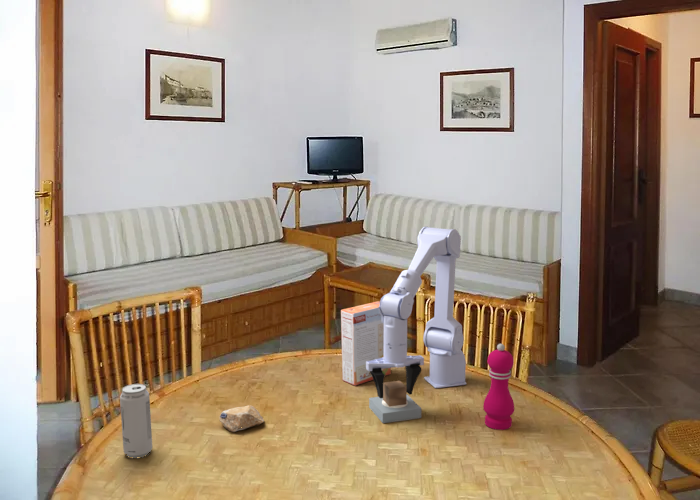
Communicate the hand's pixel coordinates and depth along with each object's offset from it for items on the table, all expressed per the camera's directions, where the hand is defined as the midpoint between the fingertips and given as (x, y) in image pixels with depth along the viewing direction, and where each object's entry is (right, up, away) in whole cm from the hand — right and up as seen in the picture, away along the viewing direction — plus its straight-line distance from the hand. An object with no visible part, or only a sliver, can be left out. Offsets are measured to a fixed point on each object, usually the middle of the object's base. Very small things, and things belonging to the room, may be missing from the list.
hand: (394, 394), depth 167 cm
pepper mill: (+24, -6, -6) cm, 26 cm away
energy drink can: (-57, -9, -20) cm, 61 cm away
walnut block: (0, -2, +1) cm, 2 cm away
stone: (-36, -6, -5) cm, 37 cm away
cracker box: (-7, -1, +25) cm, 25 cm away
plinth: (0, -5, +1) cm, 5 cm away
